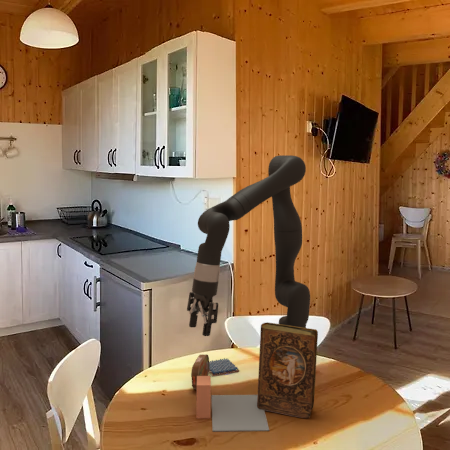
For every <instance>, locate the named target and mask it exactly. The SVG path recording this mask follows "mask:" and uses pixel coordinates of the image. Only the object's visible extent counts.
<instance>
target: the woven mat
mask: <svg viewBox="0 0 450 450" xmlns="http://www.w3.org/2000/svg"><path fill="white" fill-rule="evenodd" d="M239 372H240V370H239V368H238V366H236V364H234V363H233V361H231V360H230V359H229V358H225V357H224V358H223V359H221V358H220V359H215V360H213V359H212V360H209V374H210V375H209V376H210V377H218V376H225V375H228V374H236V373H239Z"/></svg>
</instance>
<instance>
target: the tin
mask: <svg viewBox="0 0 450 450" xmlns="http://www.w3.org/2000/svg"><path fill="white" fill-rule="evenodd" d="M209 362H210V357H209V354H208V353H207V354H199V355H198V356H197V358H196V359H195V361H194V362H193V365H192V368H191V370H190V371H191V373H190V376H191V387H192V389H194V390H197V376H210V375H209V374H210V373H209Z"/></svg>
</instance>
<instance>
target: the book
mask: <svg viewBox="0 0 450 450" xmlns="http://www.w3.org/2000/svg"><path fill="white" fill-rule="evenodd" d="M259 333H260V337H259V338H260V339H259V357H258V358H259V360H258V379H257V381H258V382H257V395H258V397H257V408H258V409H261V410H264V411H265V412H272V413H276V414H282V415H286V416H290V417H296V418H302V419H310V418H311V415H312V410H313V408H314V405H315V388H316V372H317V358H318V356H317V354H318V338H319V337H318V336H319V331H318V330H317V329H314V328H307V327H306V328H302V327H296V326H289V325H282V324H279V323H275V322H263V323H262V324H260V332H259Z"/></svg>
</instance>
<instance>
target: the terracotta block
mask: <svg viewBox="0 0 450 450" xmlns="http://www.w3.org/2000/svg"><path fill="white" fill-rule="evenodd" d="M211 378H212V376H211V375H208V376H197V389H196V413H195V414H196V416H195V417H196V419H211V411H212V399H211V395H212V394H211V392H212V390H211V388H212V386H211V385H212V381H211Z"/></svg>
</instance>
